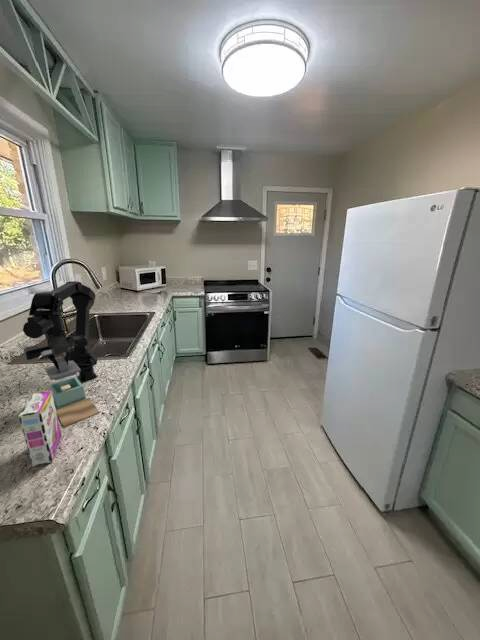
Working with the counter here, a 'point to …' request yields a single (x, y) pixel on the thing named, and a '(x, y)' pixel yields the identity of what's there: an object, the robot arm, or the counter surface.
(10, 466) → the counter surface
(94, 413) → the walnut board
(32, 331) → the robot arm
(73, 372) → the lid
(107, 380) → the counter surface
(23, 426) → the candy bar box
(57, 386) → the storage box
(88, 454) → the counter surface
